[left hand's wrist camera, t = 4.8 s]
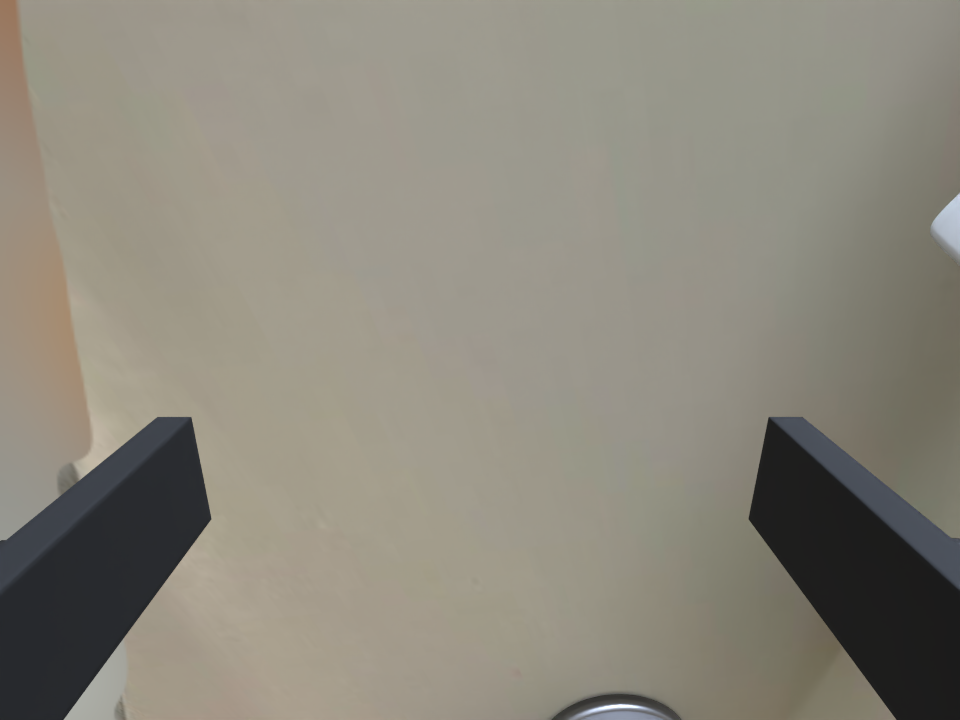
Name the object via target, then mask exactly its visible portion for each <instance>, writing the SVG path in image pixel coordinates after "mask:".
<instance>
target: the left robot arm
mask: <svg viewBox="0 0 960 720" xmlns="http://www.w3.org/2000/svg"><path fill="white" fill-rule="evenodd" d="M210 520H211V514H210V509H209V504H208V499H207V494H206V489H205V484H204V479H203V474H202V469H201V464H200V459H199V454H198V449H197V444H196V439H195V434H194V428H193V423H192V418H191V417H157V418H156V419H155V420H153V421H152V422H151V423H150V424H148V425H147V426H146V427H145V428H144V429H142V430H141V431H140V432H139V433H137V434H136V435H135V436H134V437H133V438H131V439H130V440H129V441H128V442H126V443H125V444H124V445H123V446H121V447H120V448H119V449H118V450H117V451H115V452H114V453H113V454H112V455H110V456H109V457H108V458H107V459H105V460H104V461H103V462H102V463H101V464H99V465H98V466H97V467H96V468H94V469H93V470H92V471H91V472H89V473H88V474H87V475H86V476H85V477H83V478H82V479H81V480H80V481H78V482H77V483H76V484H75V485H74V486H72V487H71V488H70V489H69V490H67V491H66V492H65V493H64V494H62V495H61V496H60V497H59V498H58V499H56V500H55V501H54V502H53V503H51V504H50V505H49V506H48V507H46V508H45V509H44V510H43V511H42V512H40V513H39V514H38V515H37V516H35V517H34V518H33V519H32V520H31V521H29V522H28V523H27V524H26V525H24V526H23V527H22V528H21V529H20V530H18V531H17V532H16V533H15V534H13V535H12V536H11V537H10V538H8V539H7V540H1V541H0V720H64V718H65V717H66V716H67V714H68V713H69V711H70V710H71V709H72V707H73V706H74V705H75V703H76V702H77V701H78V699H79V698H80V697H81V695H82V694H83V692H84V691H85V690H86V688H87V687H88V686H89V684H90V683H91V682H92V680H93V679H94V677H95V676H96V675H97V674H98V672H99V671H100V669H101V668H102V667H103V665H104V664H105V663H106V661H107V660H108V658H109V657H110V656H111V654H112V653H113V652H114V650H115V649H116V648H117V646H118V645H119V644H120V642H121V641H122V640H123V638H124V637H125V636H126V634H127V633H128V631H129V630H130V629H131V627H132V626H133V625H134V623H135V622H136V621H137V619H138V618H139V617H140V615H141V614H142V612H143V611H144V610H145V608H146V607H147V606H148V604H149V603H150V602H151V600H152V599H153V598H154V596H155V595H156V594H157V592H158V591H159V589H160V588H161V587H162V585H163V584H164V583H165V581H166V580H167V579H168V577H169V576H170V575H171V573H172V572H173V570H174V569H175V568H176V566H177V565H178V564H179V562H180V561H181V560H182V558H183V557H184V556H185V554H186V553H187V551H188V550H189V549H190V547H191V546H192V545H193V543H194V542H195V541H196V539H197V538H198V537H199V535H200V534H201V532H202V531H203V530H204V528H205V527H206V526H207V524H208V523H209V522H210ZM749 520H750V522H751V523H752V524H753V526H754V527H755V528H756V530H757V531H758V532H759V534H760V535H761V537H762V538H763V539H764V541H765V542H766V543H767V545H768V546H769V547H770V549H771V550H772V551H773V553H774V554H775V556H776V557H777V558H778V560H779V561H780V562H781V564H782V565H783V566H784V568H785V569H786V570H787V572H788V573H789V575H790V576H791V577H792V579H793V580H794V581H795V583H796V584H797V585H798V587H799V588H800V589H801V591H802V592H803V594H804V595H805V596H806V598H807V599H808V600H809V602H810V603H811V604H812V606H813V607H814V608H815V610H816V611H817V612H818V614H819V615H820V617H821V618H822V619H823V621H824V622H825V623H826V625H827V626H828V627H829V629H830V630H831V631H832V633H833V634H834V636H835V637H836V638H837V640H838V641H839V642H840V644H841V645H842V646H843V648H844V649H845V650H846V652H847V653H848V655H849V656H850V657H851V659H852V660H853V661H854V663H855V664H856V665H857V667H858V668H859V669H860V671H861V672H862V674H863V675H864V676H865V678H866V679H867V680H868V682H869V683H870V684H871V686H872V687H873V688H874V690H875V691H876V693H877V694H878V695H879V697H880V698H881V699H882V701H883V702H884V703H885V705H886V706H887V707H888V709H889V710H890V711H891V713H892V714H893V716H894V717H895V718H896V720H960V539H959V538H950V537H949V536H948V535H947V534H945V533H944V532H943V531H942V530H941V529H939V528H938V527H937V526H936V525H934V524H933V523H932V522H931V521H930V520H928V519H927V518H926V517H925V516H923V515H922V514H921V513H920V512H918V511H917V510H916V509H915V508H914V507H912V506H911V505H910V504H909V503H907V502H906V501H905V500H904V499H902V498H901V497H900V496H899V495H898V494H896V493H895V492H894V491H893V490H891V489H890V488H889V487H888V486H886V485H885V484H884V483H883V482H882V481H880V480H879V479H878V478H877V477H875V476H874V475H873V474H872V473H871V472H869V471H868V470H867V469H866V468H864V467H863V466H862V465H861V464H859V463H858V462H857V461H856V460H855V459H853V458H852V457H851V456H850V455H848V454H847V453H846V452H845V451H843V450H842V449H841V448H840V447H839V446H837V445H836V444H835V443H834V442H832V441H831V440H830V439H829V438H827V437H826V436H825V435H824V434H823V433H821V432H820V431H819V430H818V429H816V428H815V427H814V426H813V425H812V424H810V423H809V422H808V421H807V420H805V419H804V418H803V417H769V418H768V423H767V428H766V434H765V439H764V444H763V449H762V454H761V459H760V464H759V469H758V474H757V479H756V484H755V489H754V494H753V499H752V504H751V509H750V514H749ZM552 720H681V719H680V718H679V716H678V715H677V714H676V713H674V712H673V711H672V710H671V709H669V708H668V707H666V706H665V705H663V704H661V703H659V702H657V701H654V700H651V699H648V698H644V697H640V696H634V695H622V694H617V695H604V696H598V697H594V698H590V699H587V700H584V701H581V702H578V703H576V704H574V705H572V706H570V707H568V708H566V709H565V710H563V711H562V712H560V713H559V714H558V715H556V716H555V717H554V718H553V719H552Z"/></svg>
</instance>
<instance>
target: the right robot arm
mask: <svg viewBox="0 0 960 720" xmlns="http://www.w3.org/2000/svg"><path fill="white" fill-rule="evenodd" d="M930 234H931V236H932V238H933V239H934V241H935V242H936V243H937V244H938V246H939V247H940V248H941V249H942V250H944V251H945V252H946V253H947V254H948V255H949V256H950V257H951V258H952V259H953V260H954V261H955V262H956V263H957V264H958V265H959V266H960V193H959V194H958V195H957V196H956V197H955V198H954V199H953V200H952V201H951V202H950V203H949V204H948V205H947V206H946V207H945V208H944V209H943V210H942V211H941V212H940V213H939V214H938V216H937V217H936V218H935V219H934V221H933V222H932V224H931V227H930Z"/></svg>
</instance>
